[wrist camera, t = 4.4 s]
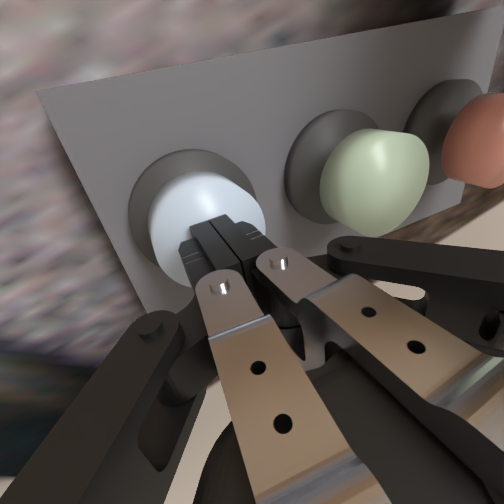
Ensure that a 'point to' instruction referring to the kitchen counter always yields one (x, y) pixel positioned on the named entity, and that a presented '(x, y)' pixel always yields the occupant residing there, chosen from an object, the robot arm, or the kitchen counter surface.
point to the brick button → (476, 143)
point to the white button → (195, 214)
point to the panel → (269, 129)
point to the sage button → (374, 180)
